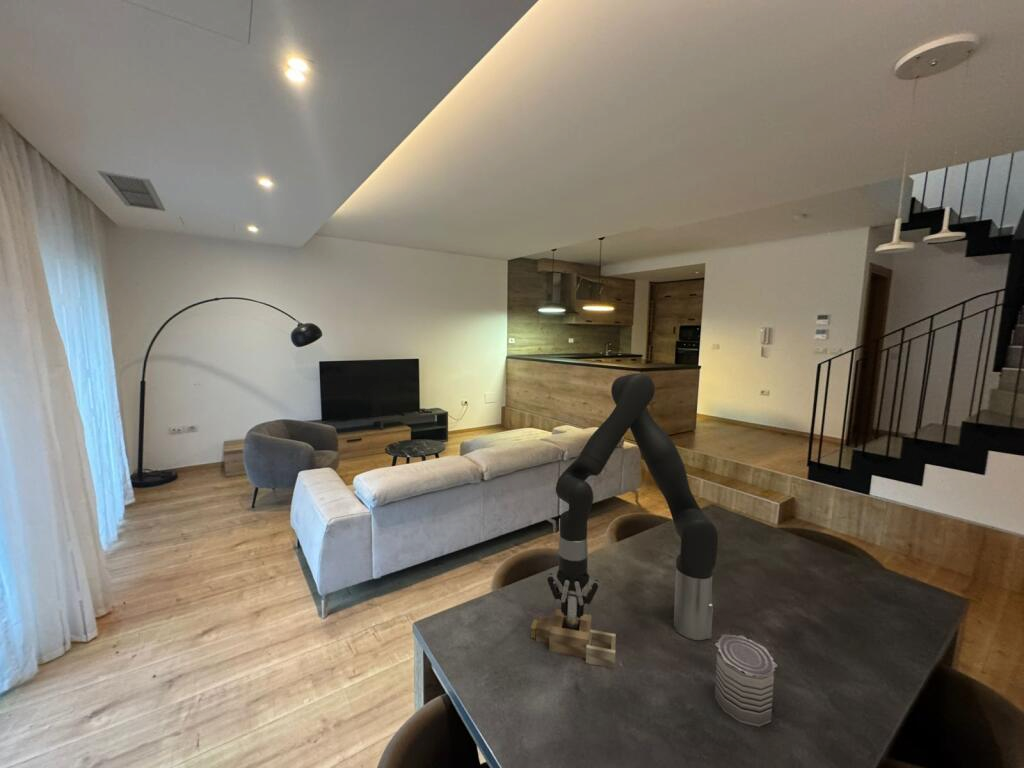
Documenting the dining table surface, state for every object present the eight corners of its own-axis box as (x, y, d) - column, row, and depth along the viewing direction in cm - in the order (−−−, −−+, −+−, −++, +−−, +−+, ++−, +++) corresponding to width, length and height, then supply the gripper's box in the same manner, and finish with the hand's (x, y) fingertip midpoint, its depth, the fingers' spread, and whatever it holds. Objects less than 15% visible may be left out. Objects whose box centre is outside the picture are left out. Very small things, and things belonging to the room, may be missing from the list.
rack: (615, 648, 106) (615, 634, 106) (614, 668, 99) (615, 653, 99) (588, 643, 108) (588, 629, 108) (585, 662, 101) (586, 647, 101)
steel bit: (578, 633, 109) (579, 591, 108) (577, 642, 106) (578, 598, 105) (566, 631, 110) (567, 589, 109) (565, 639, 107) (566, 596, 106)
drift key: (562, 634, 111) (563, 624, 111) (561, 643, 107) (561, 633, 107) (533, 628, 113) (533, 619, 113) (530, 637, 109) (530, 627, 109)
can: (751, 682, 96) (754, 633, 95) (786, 726, 84) (789, 671, 83) (704, 683, 95) (706, 634, 94) (732, 727, 84) (735, 673, 83)
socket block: (591, 632, 112) (591, 615, 112) (588, 658, 102) (588, 640, 102) (541, 623, 116) (541, 606, 115) (533, 647, 106) (534, 629, 106)
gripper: (601, 548, 108) (600, 610, 110) (548, 542, 112) (548, 602, 113) (600, 562, 101) (598, 628, 102) (544, 555, 104) (543, 619, 106)
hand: (572, 614), depth 108 cm, fingers closed on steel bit, 3 cm apart
